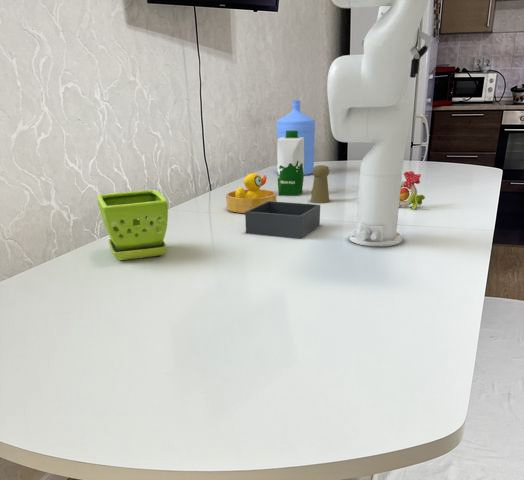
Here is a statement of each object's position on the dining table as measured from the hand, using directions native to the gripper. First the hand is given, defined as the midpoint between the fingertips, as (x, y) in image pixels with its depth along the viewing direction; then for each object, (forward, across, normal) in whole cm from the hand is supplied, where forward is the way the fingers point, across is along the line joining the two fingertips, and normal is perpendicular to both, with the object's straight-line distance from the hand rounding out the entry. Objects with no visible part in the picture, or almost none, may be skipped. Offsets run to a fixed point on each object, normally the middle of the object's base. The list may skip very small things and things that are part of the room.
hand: (393, 77), depth 132 cm
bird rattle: (+35, +4, +15) cm, 38 cm away
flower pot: (+35, -42, -56) cm, 78 cm away
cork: (+35, -24, +15) cm, 46 cm away
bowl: (+35, -40, -4) cm, 53 cm away
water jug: (+36, -56, +66) cm, 93 cm away
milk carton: (+36, -39, +23) cm, 58 cm away
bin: (+35, -20, -23) cm, 46 cm away
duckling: (+35, -40, -4) cm, 53 cm away
